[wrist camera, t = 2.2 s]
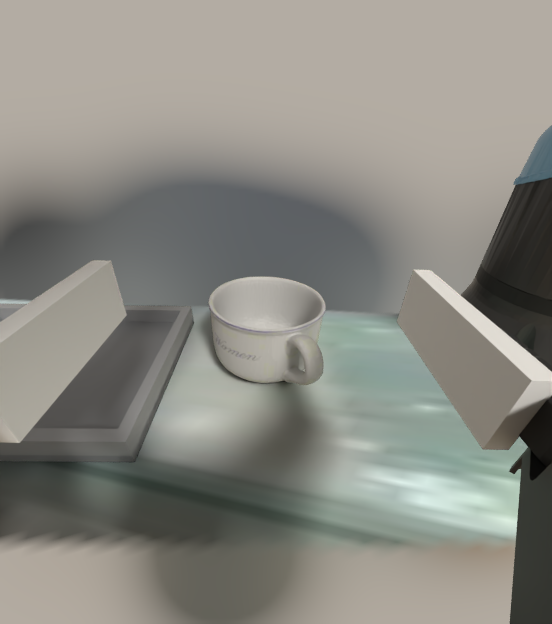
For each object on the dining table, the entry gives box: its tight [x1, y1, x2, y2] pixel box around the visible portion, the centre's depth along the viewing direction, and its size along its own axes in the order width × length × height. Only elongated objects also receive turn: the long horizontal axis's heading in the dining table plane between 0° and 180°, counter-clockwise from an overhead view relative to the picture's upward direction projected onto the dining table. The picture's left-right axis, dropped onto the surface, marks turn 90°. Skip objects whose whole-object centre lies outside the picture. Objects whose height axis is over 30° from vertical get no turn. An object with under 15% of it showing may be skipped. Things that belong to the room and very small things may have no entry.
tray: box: [0, 304, 194, 462], centre depth 27 cm, size 24×18×2 cm
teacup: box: [209, 277, 325, 385], centre depth 27 cm, size 14×11×8 cm
